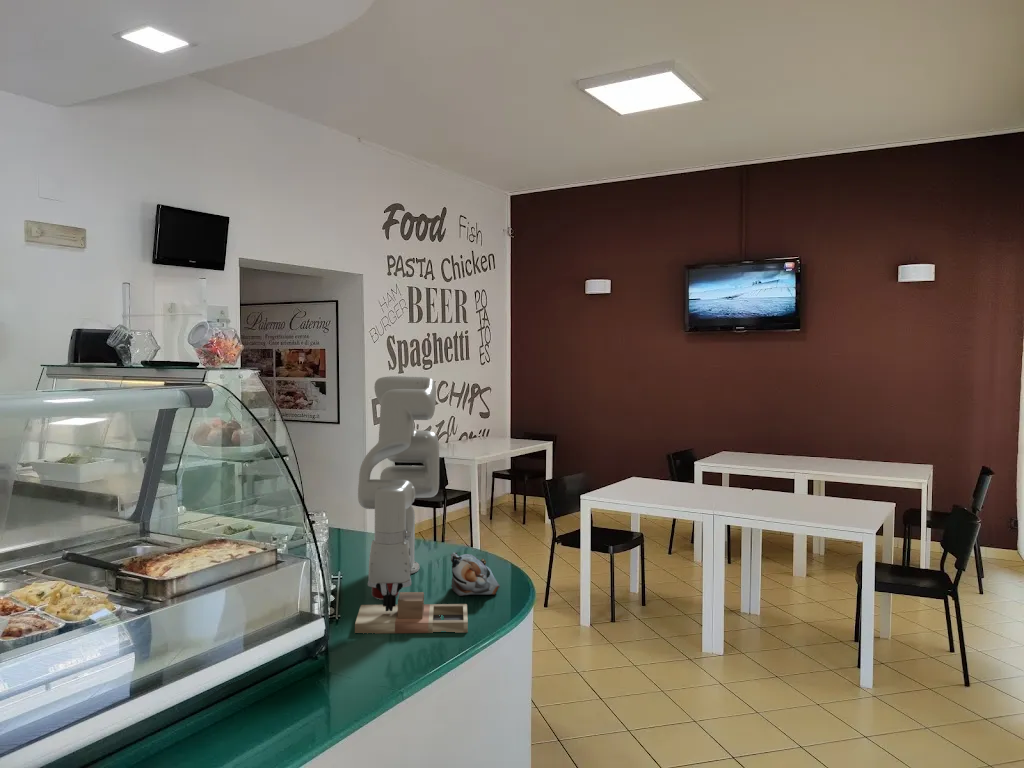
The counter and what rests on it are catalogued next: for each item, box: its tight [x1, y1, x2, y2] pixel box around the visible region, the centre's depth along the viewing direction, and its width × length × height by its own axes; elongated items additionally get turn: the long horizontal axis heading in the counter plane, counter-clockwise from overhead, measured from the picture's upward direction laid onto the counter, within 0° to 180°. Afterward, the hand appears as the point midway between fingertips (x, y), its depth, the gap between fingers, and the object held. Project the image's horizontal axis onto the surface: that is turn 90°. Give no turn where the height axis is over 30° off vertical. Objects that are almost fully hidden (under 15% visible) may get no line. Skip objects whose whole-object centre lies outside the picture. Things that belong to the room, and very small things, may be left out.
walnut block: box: [397, 591, 425, 619], centre depth 187 cm, size 6×6×4 cm
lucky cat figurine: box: [450, 552, 501, 597], centre depth 209 cm, size 15×12×14 cm
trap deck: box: [354, 603, 469, 635], centre depth 188 cm, size 12×27×2 cm, turn 94°
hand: (389, 609), depth 187 cm, fingers closed
